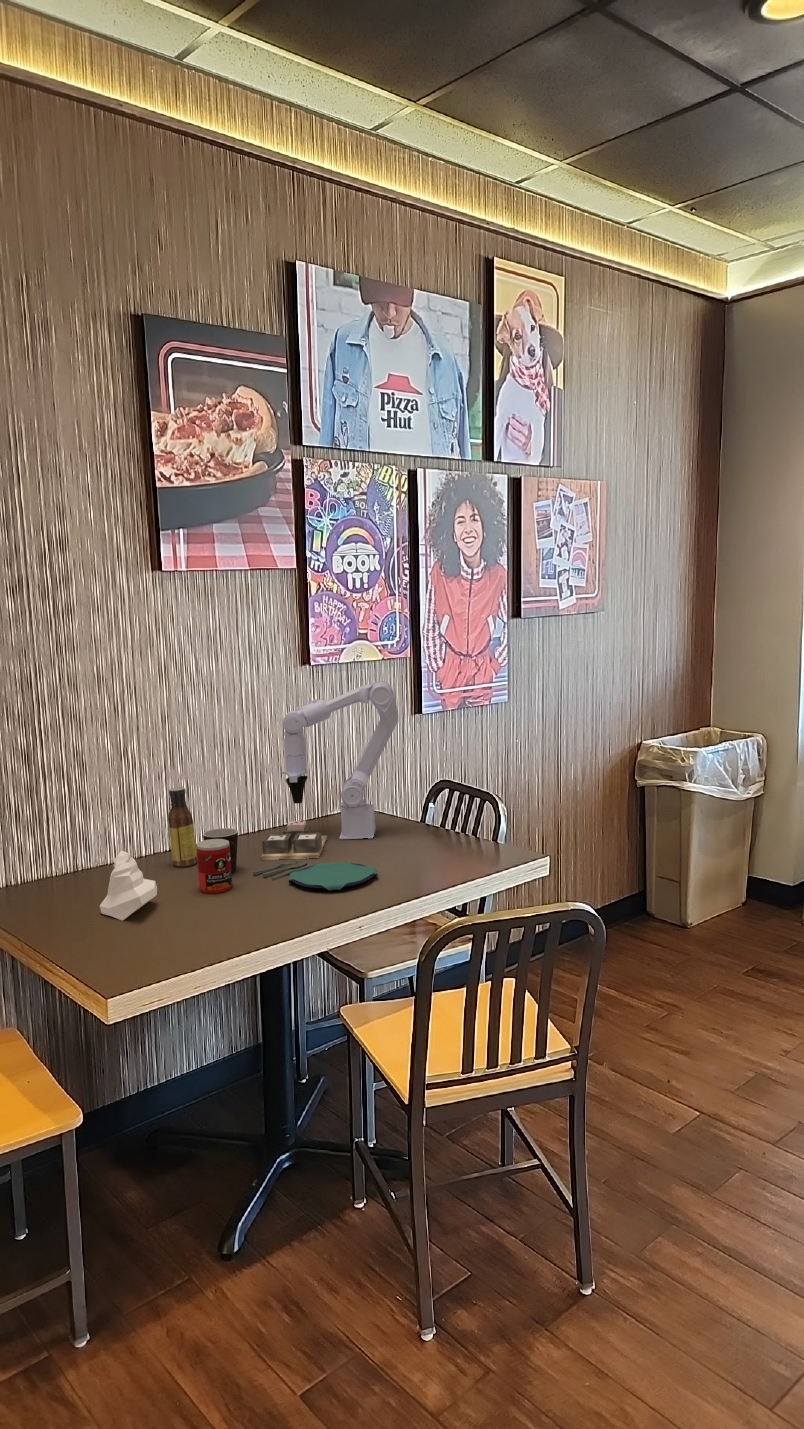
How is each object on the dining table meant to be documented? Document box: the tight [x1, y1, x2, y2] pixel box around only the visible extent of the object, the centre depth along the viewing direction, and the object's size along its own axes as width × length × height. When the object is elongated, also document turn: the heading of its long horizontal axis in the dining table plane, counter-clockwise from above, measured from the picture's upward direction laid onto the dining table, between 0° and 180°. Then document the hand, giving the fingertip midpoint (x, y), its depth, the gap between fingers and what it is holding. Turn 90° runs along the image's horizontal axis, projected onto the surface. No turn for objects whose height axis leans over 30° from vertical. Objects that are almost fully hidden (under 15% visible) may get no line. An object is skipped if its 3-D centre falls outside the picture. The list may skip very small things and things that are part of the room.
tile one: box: [298, 834, 317, 839], centre depth 252 cm, size 4×4×3 cm
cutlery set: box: [252, 859, 379, 891], centre depth 231 cm, size 20×30×2 cm, turn 51°
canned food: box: [196, 839, 233, 894], centre depth 225 cm, size 8×8×11 cm
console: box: [260, 824, 328, 861], centre depth 256 cm, size 15×19×4 cm
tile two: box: [268, 835, 287, 840], centre depth 252 cm, size 4×4×3 cm
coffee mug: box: [202, 827, 239, 874], centre depth 237 cm, size 12×9×10 cm
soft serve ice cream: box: [99, 850, 158, 921], centre depth 212 cm, size 12×15×14 cm
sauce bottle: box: [167, 786, 198, 868], centre depth 245 cm, size 6×6×20 cm
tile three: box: [286, 820, 307, 831], centre depth 261 cm, size 4×4×3 cm
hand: (298, 802), depth 266 cm, fingers closed
